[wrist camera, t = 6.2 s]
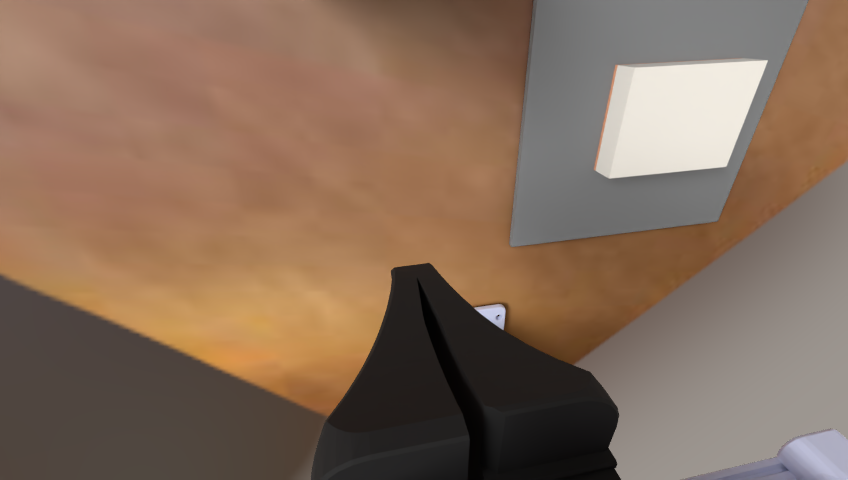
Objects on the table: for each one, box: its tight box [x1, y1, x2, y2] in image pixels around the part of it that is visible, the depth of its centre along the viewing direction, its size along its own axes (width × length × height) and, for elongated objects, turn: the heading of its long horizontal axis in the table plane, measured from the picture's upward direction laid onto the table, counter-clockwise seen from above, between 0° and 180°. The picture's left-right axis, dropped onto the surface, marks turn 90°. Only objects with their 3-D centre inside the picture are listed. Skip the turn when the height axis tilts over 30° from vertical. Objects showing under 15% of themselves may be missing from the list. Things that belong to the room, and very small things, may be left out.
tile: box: [594, 58, 768, 179], centre depth 22 cm, size 6×2×8 cm
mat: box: [509, 0, 809, 247], centre depth 23 cm, size 16×16×1 cm
